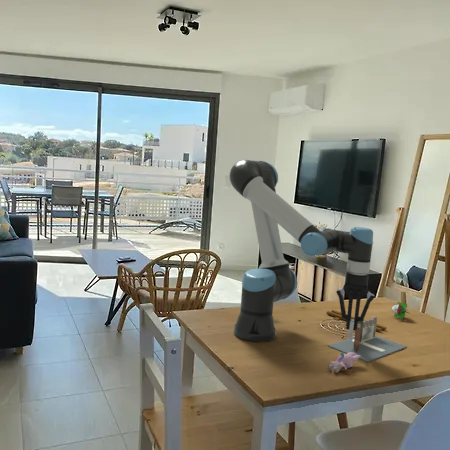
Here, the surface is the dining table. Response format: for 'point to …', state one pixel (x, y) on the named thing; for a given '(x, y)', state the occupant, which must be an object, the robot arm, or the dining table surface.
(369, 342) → the board
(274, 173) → the robot arm
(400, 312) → the geometric puzzle
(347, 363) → the rabbit figure
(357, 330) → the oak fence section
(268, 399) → the dining table surface
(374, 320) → the white fence section
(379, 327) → the decorative fence
